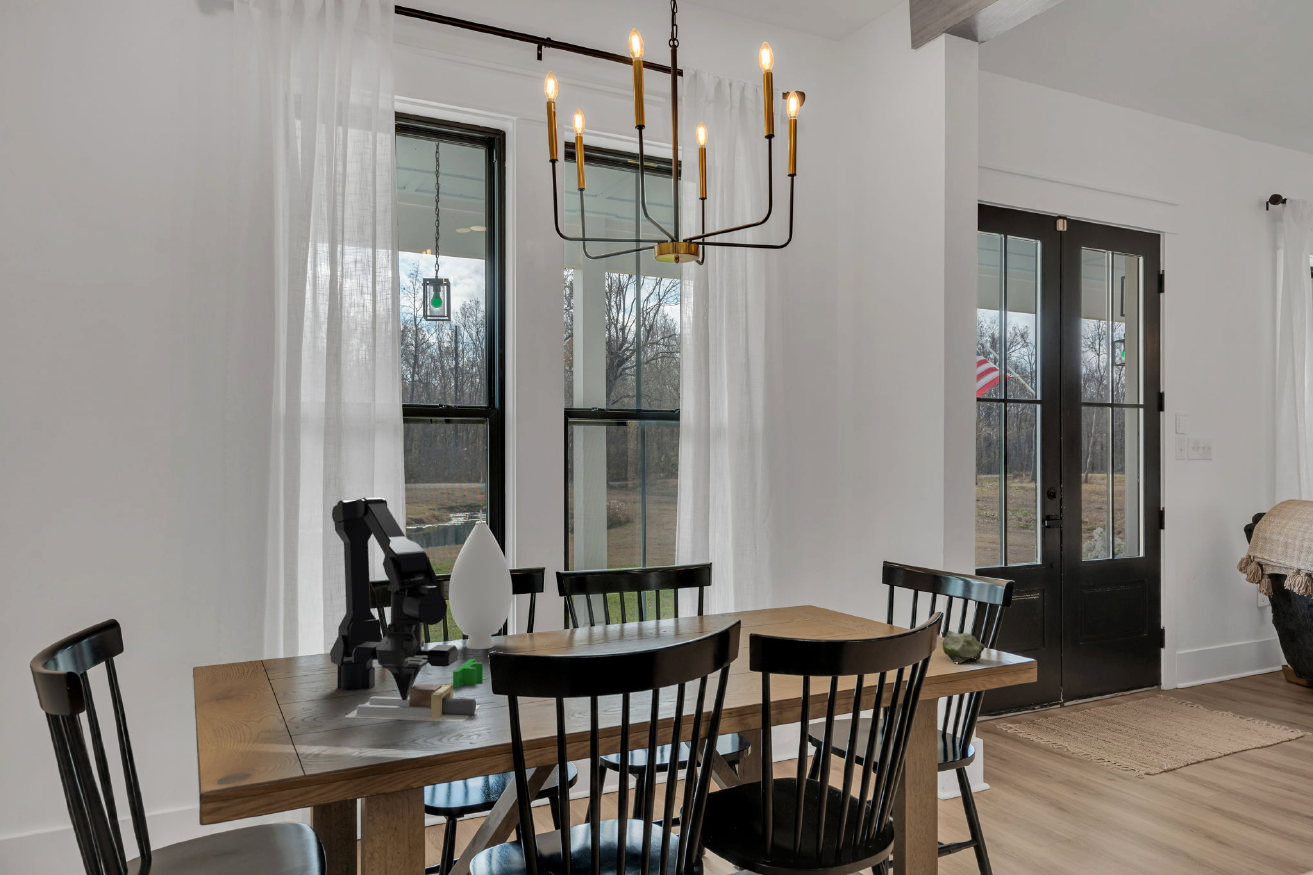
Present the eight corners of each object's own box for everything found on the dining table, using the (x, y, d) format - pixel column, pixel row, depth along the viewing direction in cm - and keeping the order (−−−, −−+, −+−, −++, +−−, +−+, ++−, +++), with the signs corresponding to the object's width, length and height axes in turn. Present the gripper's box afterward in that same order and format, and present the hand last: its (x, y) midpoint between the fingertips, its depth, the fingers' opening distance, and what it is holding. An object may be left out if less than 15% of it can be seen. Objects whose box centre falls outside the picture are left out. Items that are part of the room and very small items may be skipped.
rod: (436, 716, 161) (433, 705, 160) (440, 705, 163) (438, 694, 162) (472, 718, 160) (470, 706, 159) (476, 707, 163) (474, 695, 161)
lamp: (515, 651, 215) (516, 510, 216) (449, 655, 211) (451, 511, 212) (508, 638, 231) (509, 506, 231) (447, 641, 226) (448, 507, 227)
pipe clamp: (470, 694, 178) (470, 672, 178) (452, 693, 179) (452, 671, 179) (487, 679, 190) (487, 658, 190) (470, 679, 190) (470, 658, 190)
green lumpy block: (934, 663, 211) (933, 629, 213) (967, 664, 214) (965, 630, 215) (957, 664, 202) (956, 629, 204) (991, 665, 205) (990, 631, 207)
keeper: (409, 713, 161) (409, 688, 161) (416, 707, 164) (416, 684, 164) (435, 714, 160) (435, 689, 161) (441, 708, 164) (441, 684, 164)
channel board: (344, 722, 159) (344, 693, 159) (368, 706, 169) (368, 679, 169) (463, 727, 156) (463, 697, 157) (480, 710, 166) (480, 682, 166)
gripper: (338, 623, 156) (337, 710, 156) (438, 627, 154) (437, 715, 154) (366, 611, 167) (364, 693, 167) (459, 615, 165) (458, 697, 165)
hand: (404, 699), depth 163 cm, fingers closed
